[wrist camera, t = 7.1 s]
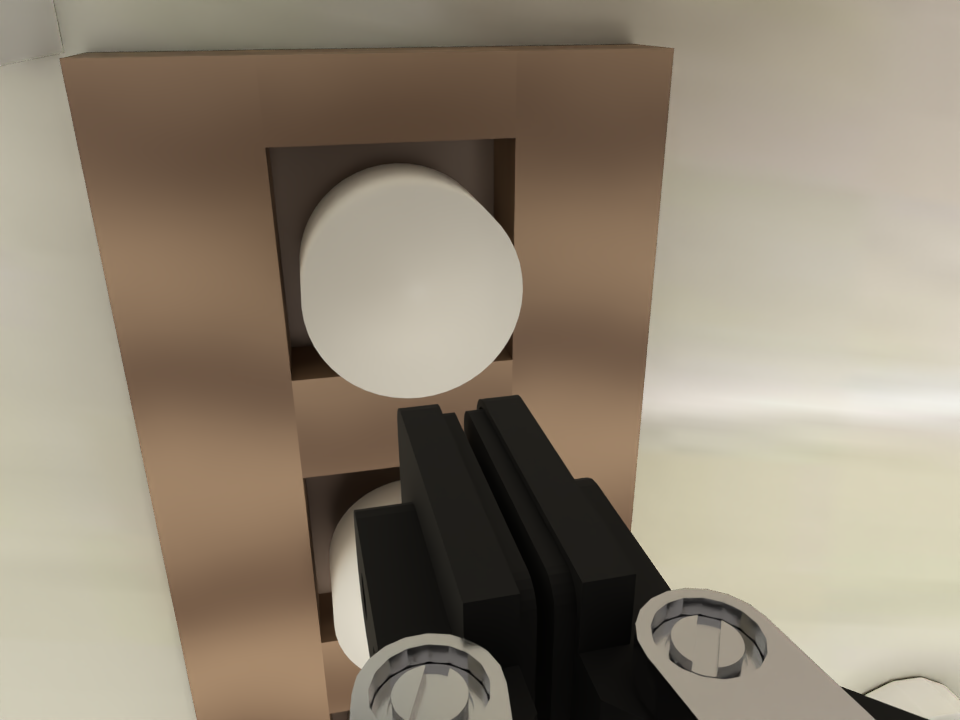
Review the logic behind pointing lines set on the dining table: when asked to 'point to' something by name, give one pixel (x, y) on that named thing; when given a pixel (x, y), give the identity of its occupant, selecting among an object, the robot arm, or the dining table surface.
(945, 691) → the white cup
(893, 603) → the dining table surface
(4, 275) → the dining table surface
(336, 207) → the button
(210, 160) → the button board
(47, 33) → the placard
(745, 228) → the dining table surface
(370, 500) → the button mid
